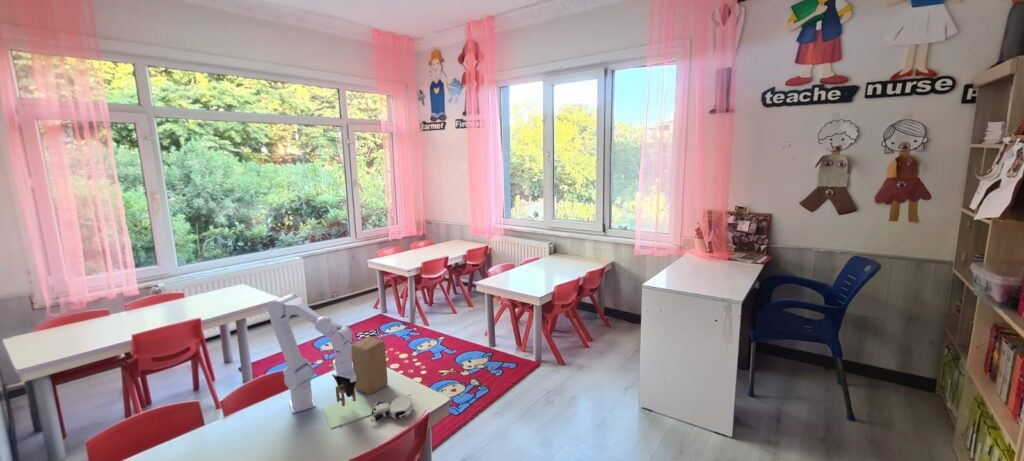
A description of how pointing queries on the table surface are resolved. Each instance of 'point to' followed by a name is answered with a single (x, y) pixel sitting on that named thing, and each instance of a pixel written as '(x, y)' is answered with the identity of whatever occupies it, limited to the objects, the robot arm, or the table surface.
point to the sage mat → (347, 411)
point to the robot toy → (393, 408)
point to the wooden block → (369, 364)
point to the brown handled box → (342, 390)
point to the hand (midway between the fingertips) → (346, 392)
